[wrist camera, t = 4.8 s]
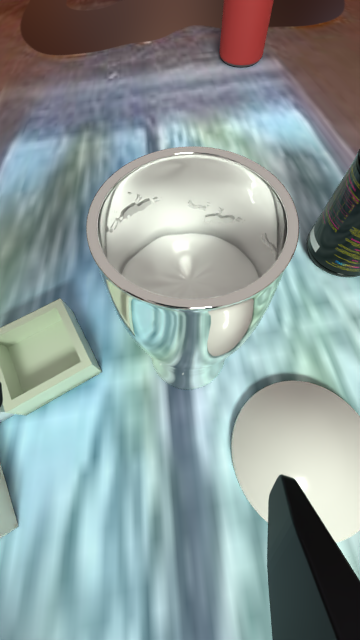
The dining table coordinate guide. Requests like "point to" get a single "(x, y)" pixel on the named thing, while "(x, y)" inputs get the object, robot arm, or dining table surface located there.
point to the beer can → (244, 31)
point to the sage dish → (43, 358)
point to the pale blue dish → (4, 414)
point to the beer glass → (191, 254)
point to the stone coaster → (301, 451)
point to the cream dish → (6, 508)
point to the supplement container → (339, 228)
